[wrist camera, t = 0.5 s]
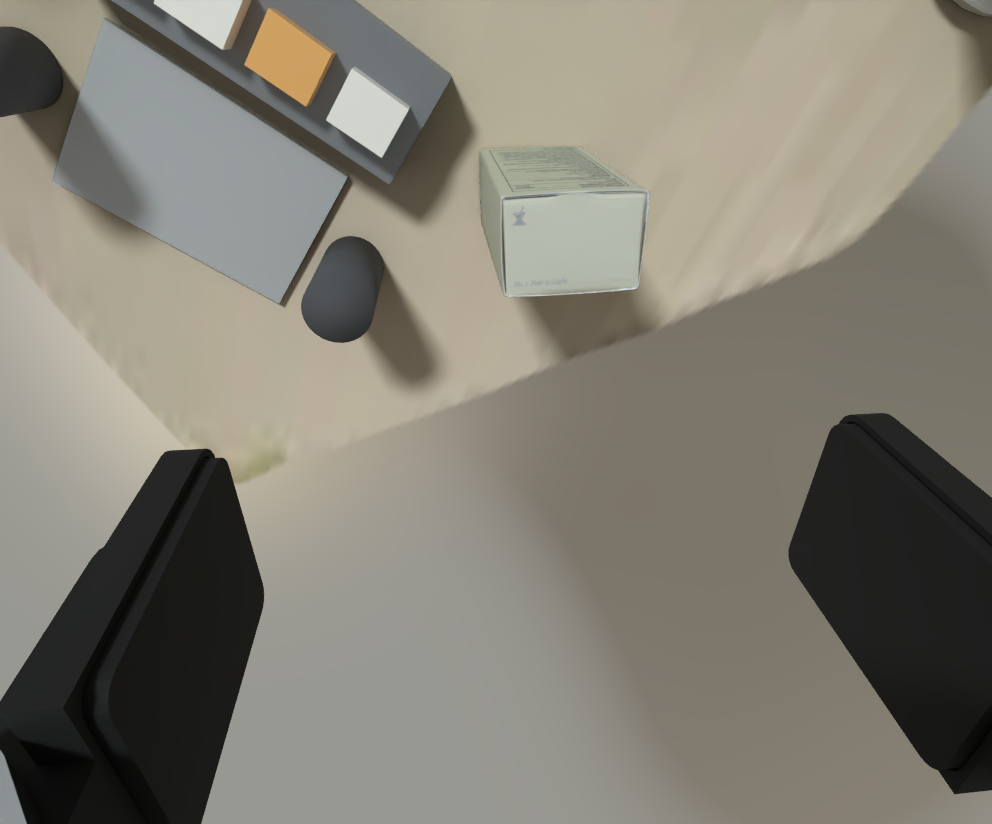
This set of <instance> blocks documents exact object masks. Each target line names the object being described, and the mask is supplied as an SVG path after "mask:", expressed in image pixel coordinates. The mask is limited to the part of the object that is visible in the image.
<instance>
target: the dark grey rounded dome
mask: <svg viewBox="0 0 992 824" xmlns="http://www.w3.org/2000/svg"><path fill="white" fill-rule="evenodd" d="M62 88H63V77H62V72H61V69H60V66H59V64H58V62H57V60H56V58H55V56H54V55H53V54H52V52H51V51H50V50H49V48H48V47H47V46H46V45H45V44H44V43H43V42H42V41H41V40H39V39H38V38H37V37H35V36H34V35H33V34H31V33H29V32H27V31H25V30H22V29H19V28H15V27H0V117H4V116H9V115H14V114H19V113H24V112H29V111H33V110H38V109H43V108H47V107H49V106H51V105H53V104H54V103H55V102H56V101H57V100H58V99H59V97H60V95H61V92H62Z"/></svg>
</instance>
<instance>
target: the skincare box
mask: <svg viewBox="0 0 992 824" xmlns="http://www.w3.org/2000/svg"><path fill="white" fill-rule="evenodd" d="M479 185H480V209H481V223H482V227H483V230H484V234H485V237H486V240H487V244H488V247H489V251H490V254H491V257H492V260H493V264H494V267H495V270H496V273H497V276H498V280H499V283H500V286H501V289H502V292H503V294H504V295H505V296H506V297H522V296H524V297H531V296H552V295H569V294H584V293H600V292H611V291H624V290H634V289H637V288H638V286H639V281H640V273H641V266H642V259H643V252H644V244H645V235H646V228H647V219H648V209H649V200H650V193H649V192H648V191H647V190H646V189H645V188H643V187H642V186H640V185H639V184H637V183H636V182H634V181H633V180H631V179H630V178H628V177H627V176H625V175H624V174H622V173H621V172H619V171H618V170H616V169H615V168H613V167H611V166H610V165H609V164H607V163H605V162H604V161H602V160H601V159H600V158H598V157H597V156H595V155H594V154H592V153H591V152H589V151H588V150H586V149H585V148H583V147H524V148H500V149H483V150H480V151H479Z"/></svg>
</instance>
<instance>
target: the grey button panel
mask: <svg viewBox="0 0 992 824" xmlns="http://www.w3.org/2000/svg"><path fill="white" fill-rule="evenodd" d="M112 1H113V2H115V3H116V4H118V5H119V6H121V7H122V8H124V9H125V10H127V11H128V12H130V13H131V14H133V15H134V16H136V17H137V18H139V19H140V20H142V21H143V22H145V23H146V24H148V25H149V26H151V27H152V28H154V29H155V30H157V31H158V32H160V33H161V34H163V35H164V36H166V37H167V38H169V39H170V40H172V41H173V42H175V43H176V44H178V45H179V46H181V47H182V48H184V49H185V50H187V51H188V52H190V53H191V54H193V55H194V56H196V57H197V58H199V59H200V60H202V61H203V62H205V63H206V64H208V65H209V66H211V67H212V68H214V69H216V70H217V71H219V72H220V73H222V74H223V75H225V76H226V77H228V78H229V79H231V80H232V81H234V82H235V83H237V84H238V85H240V86H241V87H243V88H244V89H246V90H247V91H249V92H250V93H252V94H253V95H255V96H256V97H258V98H259V99H261V100H262V101H264V102H265V103H267V104H268V105H270V106H271V107H273V108H274V109H276V110H277V111H279V112H280V113H282V114H283V115H285V116H286V117H288V118H289V119H291V120H292V121H294V122H295V123H297V124H298V125H300V126H301V127H303V128H304V129H306V130H307V131H309V132H310V133H312V134H313V135H315V136H316V137H318V138H320V139H321V140H323V141H324V142H326V143H327V144H329V145H330V146H332V147H333V148H335V149H336V150H338V151H339V152H341V153H342V154H344V155H345V156H347V157H348V158H350V159H351V160H353V161H354V162H356V163H357V164H359V165H360V166H362V167H363V168H365V169H366V170H368V171H369V172H371V173H372V174H374V175H375V176H377V177H378V178H380V179H381V180H383V181H384V182H386V183H387V184H389V185H390V183H391V181H392V180H393V178H394V176H395V174H396V173H397V171H398V169H399V167H400V166H401V164H402V162H403V160H404V159H405V157H406V155H407V154H408V152H409V150H410V148H411V147H412V145H413V143H414V141H415V140H416V138H417V136H418V134H419V133H420V131H421V129H422V128H423V126H424V124H425V122H426V121H427V119H428V117H429V115H430V114H431V112H432V110H433V109H434V107H435V105H436V103H437V102H438V100H439V98H440V96H441V95H442V93H443V91H444V89H445V88H446V86H447V84H448V83H449V81H450V79H451V75H450V73H449V72H447V71H446V70H445V69H443V68H442V67H441V66H440V65H438V64H437V63H436V62H434V61H433V60H432V59H430V58H429V57H428V56H427V55H425V54H424V53H423V52H421V51H420V50H419V49H417V48H416V47H415V46H414V45H412V44H411V43H410V42H408V41H407V40H406V39H404V38H403V37H402V36H401V35H399V34H398V33H397V32H395V31H394V30H393V29H391V28H390V27H389V26H388V25H386V24H385V23H384V22H382V21H381V20H380V19H378V18H377V17H376V16H375V15H373V14H372V13H371V12H369V11H368V10H367V9H365V8H364V7H363V6H362V5H360V4H359V3H358V2H356V1H355V0H112ZM347 178H348V175H347V174H345V173H344V172H342V171H341V170H339V169H338V168H336V167H335V166H333V165H332V164H330V163H329V162H327V161H325V160H324V159H322V158H321V157H319V156H318V155H316V154H315V153H313V152H312V151H310V150H309V149H307V148H306V147H304V146H302V145H301V144H299V143H298V142H296V141H295V140H293V139H292V138H290V137H289V136H287V135H286V134H284V133H283V132H281V131H279V130H278V129H276V128H275V127H273V126H272V125H270V124H269V123H267V122H266V121H264V120H263V119H261V118H260V117H258V116H256V115H255V114H253V113H252V112H250V111H249V110H247V109H246V108H244V107H243V106H241V105H240V104H238V103H237V102H235V101H233V100H232V99H230V98H229V97H227V96H226V95H224V94H223V93H221V92H220V91H218V90H217V89H215V88H213V87H212V86H210V85H209V84H207V83H206V82H204V81H203V80H201V79H200V78H198V77H197V76H195V75H194V74H192V73H190V72H189V71H187V70H186V69H184V68H183V67H181V66H180V65H178V64H177V63H175V62H174V61H172V60H171V59H169V58H167V57H166V56H164V55H163V54H161V53H160V52H158V51H157V50H155V49H154V48H152V47H151V46H149V45H148V44H146V43H144V42H143V41H141V40H140V39H138V38H137V37H135V36H134V35H132V34H131V33H129V32H128V31H126V30H125V29H123V28H121V27H120V26H118V25H117V24H115V23H114V22H112V21H111V20H109V19H108V18H103V21H102V25H101V28H100V31H99V34H98V37H97V40H96V43H95V47H94V50H93V53H92V56H91V59H90V62H89V65H88V69H87V72H86V75H85V78H84V81H83V84H82V87H81V90H80V94H79V97H78V100H77V103H76V106H75V109H74V112H73V116H72V119H71V122H70V125H69V128H68V131H67V134H66V137H65V141H64V144H63V147H62V150H61V153H60V156H59V159H58V163H57V166H56V169H55V172H54V175H53V178H52V181H54V182H55V183H57V184H59V185H61V186H63V187H65V188H66V189H68V190H70V191H72V192H74V193H76V194H77V195H79V196H81V197H83V198H85V199H87V200H89V201H90V202H92V203H94V204H96V205H98V206H100V207H101V208H103V209H105V210H107V211H109V212H111V213H112V214H114V215H116V216H118V217H120V218H122V219H124V220H125V221H127V222H129V223H131V224H133V225H135V226H136V227H138V228H140V229H142V230H144V231H146V232H148V233H149V234H151V235H153V236H155V237H157V238H159V239H160V240H162V241H164V242H166V243H168V244H170V245H171V246H173V247H175V248H177V249H179V250H181V251H183V252H184V253H186V254H188V255H190V256H192V257H194V258H195V259H197V260H199V261H201V262H203V263H205V264H206V265H208V266H210V267H212V268H214V269H216V270H218V271H219V272H221V273H223V274H225V275H227V276H229V277H230V278H232V279H234V280H236V281H238V282H240V283H241V284H243V285H245V286H247V287H249V288H251V289H253V290H254V291H256V292H258V293H260V294H262V295H264V296H265V297H267V298H269V299H271V300H273V301H275V302H276V303H278V304H279V303H280V301H281V299H282V297H283V296H284V294H285V292H286V290H287V288H288V286H289V285H290V283H291V281H292V279H293V277H294V275H295V273H296V272H297V270H298V268H299V266H300V264H301V262H302V261H303V259H304V257H305V255H306V253H307V251H308V250H309V248H310V246H311V244H312V242H313V240H314V238H315V237H316V235H317V233H318V231H319V229H320V227H321V226H322V224H323V222H324V220H325V218H326V216H327V215H328V213H329V211H330V209H331V207H332V205H333V203H334V202H335V200H336V198H337V196H338V194H339V192H340V191H341V189H342V187H343V185H344V183H345V181H346V179H347Z"/></svg>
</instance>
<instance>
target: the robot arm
mask: <svg viewBox="0 0 992 824" xmlns="http://www.w3.org/2000/svg"><path fill="white" fill-rule="evenodd" d="M953 1H954V2H956V3H957V4H958V5H959V6H960V7H962V8H963V9H966V10H968V11H971V12H973V13H975V14H978V15H980V16H989V17H992V0H953ZM789 561H790V564H791V567H792V569H793V571H794V572H795V574H796V575H797V577H798V578H799V579H800V581H801V582H802V584H803V585H804V587H805V588H806V590H807V591H808V593H809V594H810V595H811V597H812V599H813V600H814V601H815V603H816V604H817V606H818V607H819V609H820V610H821V612H822V613H823V614H824V616H825V618H826V619H827V621H828V622H829V623H830V625H831V626H832V628H833V629H834V631H835V632H836V634H837V635H838V637H839V638H840V640H841V641H842V643H843V644H844V645H845V647H846V648H847V650H848V651H849V653H850V654H851V656H852V657H853V659H854V660H855V662H856V663H857V665H858V666H859V667H860V669H861V670H862V672H863V673H864V675H865V676H866V678H867V679H868V681H869V682H870V684H871V685H872V687H873V688H874V689H875V691H876V692H877V694H878V695H879V697H880V698H881V700H882V701H883V703H884V704H885V705H886V707H887V708H888V710H889V711H890V713H891V714H892V716H893V717H894V719H895V720H896V722H897V723H898V725H899V726H900V728H901V729H902V730H903V732H904V733H905V735H906V736H907V738H908V739H909V741H910V742H911V744H912V745H913V747H914V748H915V749H916V751H917V752H918V754H919V755H920V757H921V758H922V759H923V760H924V761H925V763H927V764H928V765H929V766H930V767H932V768H934V769H936V770H938V771H939V772H940V774H941V775H942V777H943V778H944V779H945V781H946V782H947V784H948V785H949V787H950V788H951V789H952V791H953V792H954V794H960V793H969V792H978V791H988V790H992V498H991V497H990V496H989V495H988V494H986V493H985V492H984V491H983V490H981V489H980V488H979V487H978V486H977V485H975V484H974V483H973V482H972V481H970V480H969V479H968V478H967V477H965V476H964V475H963V474H962V473H961V472H959V471H958V470H957V469H956V468H955V467H953V466H952V465H951V464H949V462H947V461H946V460H945V459H944V458H942V457H941V456H940V455H939V454H938V453H936V452H935V451H934V450H933V449H932V448H930V447H929V446H928V445H927V444H925V443H924V442H923V441H922V440H921V439H919V438H918V437H917V436H916V435H914V434H913V433H912V432H911V431H910V430H908V429H907V428H906V427H905V426H904V425H902V424H901V423H900V422H899V421H897V420H896V419H895V418H894V417H892V416H891V415H889V414H885V413H877V414H876V413H875V414H858V415H857V414H856V415H848V416H845V417H844V418H843V419H842V420H841V421H840V423H839V424H838V425H836V426H834V427H833V428H832V429H831V431H830V433H829V435H828V438H827V441H826V443H825V446H824V449H823V452H822V455H821V458H820V461H819V463H818V467H817V469H816V472H815V475H814V478H813V481H812V484H811V486H810V489H809V492H808V495H807V498H806V501H805V504H804V506H803V509H802V512H801V515H800V518H799V521H798V523H797V526H796V529H795V532H794V535H793V538H792V541H791V544H790V547H789ZM263 603H264V588H263V583H262V579H261V576H260V573H259V569H258V566H257V562H256V559H255V555H254V552H253V548H252V545H251V541H250V538H249V534H248V531H247V528H246V524H245V521H244V517H243V514H242V510H241V507H240V503H239V500H238V497H237V493H236V490H235V486H234V483H233V479H232V476H231V472H230V469H229V466H228V463H227V461H226V460H225V459H224V458H215V456H214V454H213V453H212V451H211V450H209V449H192V450H173V451H167V452H165V453H164V454H163V455H162V456H161V457H160V459H159V461H158V462H157V464H156V465H155V467H154V468H153V470H152V472H151V473H150V475H149V476H148V478H147V480H146V481H145V483H144V484H143V486H142V488H141V489H140V491H139V492H138V494H137V495H136V497H135V499H134V500H133V502H132V503H131V505H130V507H129V508H128V510H127V511H126V513H125V515H124V516H123V518H122V519H121V521H120V522H119V524H118V526H117V527H116V529H115V530H114V532H113V533H112V535H111V537H110V539H109V540H108V542H107V543H106V545H105V546H104V547H103V548H102V549H100V550H99V551H98V552H97V553H96V554H95V555H94V557H93V558H92V559H91V560H90V562H89V563H88V565H87V567H86V568H85V570H84V571H83V573H82V574H81V576H80V578H79V579H78V581H77V582H76V584H75V585H74V587H73V588H72V590H71V592H70V593H69V595H68V596H67V598H66V599H65V601H64V603H63V604H62V606H61V607H60V609H59V610H58V612H57V613H56V615H55V617H54V618H53V620H52V621H51V623H50V625H49V626H48V628H47V629H46V631H45V632H44V634H43V635H42V637H41V639H40V640H39V642H38V643H37V645H36V647H35V648H34V649H33V651H32V653H31V654H30V656H29V657H28V659H27V660H26V662H25V663H24V665H23V667H22V668H21V670H20V671H19V673H18V675H17V676H16V678H15V679H14V681H13V682H12V684H11V685H10V687H9V689H8V690H7V692H6V693H5V695H4V696H3V698H2V700H1V701H0V824H201V822H202V818H203V815H204V812H205V808H206V805H207V801H208V798H209V794H210V791H211V787H212V784H213V780H214V777H215V773H216V770H217V766H218V763H219V759H220V755H221V752H222V749H223V745H224V742H225V738H226V735H227V731H228V728H229V724H230V721H231V717H232V714H233V710H234V707H235V703H236V700H237V696H238V693H239V689H240V686H241V683H242V679H243V676H244V672H245V669H246V665H247V662H248V658H249V655H250V651H251V648H252V644H253V640H254V637H255V634H256V630H257V627H258V623H259V620H260V616H261V613H262V609H263Z"/></svg>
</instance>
